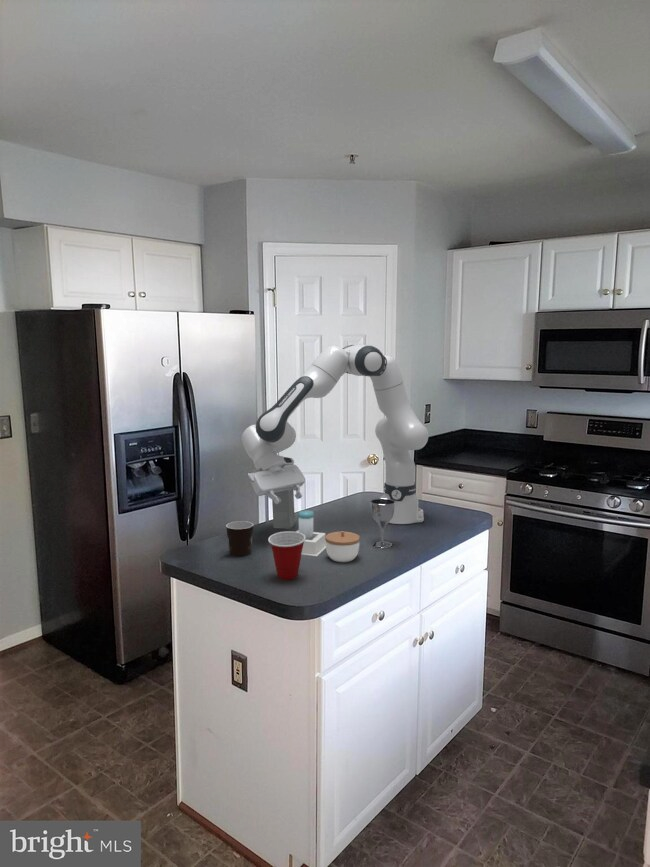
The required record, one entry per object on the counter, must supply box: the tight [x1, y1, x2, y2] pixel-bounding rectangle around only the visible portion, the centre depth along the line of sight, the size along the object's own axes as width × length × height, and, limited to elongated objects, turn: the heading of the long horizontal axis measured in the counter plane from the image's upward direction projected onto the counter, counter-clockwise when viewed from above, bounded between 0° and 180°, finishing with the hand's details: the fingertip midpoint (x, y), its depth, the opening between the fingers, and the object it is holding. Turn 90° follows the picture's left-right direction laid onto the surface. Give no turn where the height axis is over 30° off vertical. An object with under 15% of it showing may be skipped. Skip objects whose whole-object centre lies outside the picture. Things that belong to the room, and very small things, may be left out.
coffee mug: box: [225, 520, 254, 558], centre depth 194 cm, size 12×9×10 cm
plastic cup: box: [267, 530, 306, 581], centre depth 175 cm, size 11×11×12 cm
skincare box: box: [271, 489, 296, 530], centre depth 222 cm, size 8×7×16 cm
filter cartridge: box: [298, 509, 314, 540], centre depth 197 cm, size 5×5×12 cm
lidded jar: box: [325, 530, 361, 563], centre depth 188 cm, size 11×11×9 cm
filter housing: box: [295, 529, 327, 557], centre depth 198 cm, size 12×12×5 cm
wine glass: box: [370, 497, 395, 549], centre depth 203 cm, size 8×8×15 cm
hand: (289, 500), depth 201 cm, fingers open, 8 cm apart
